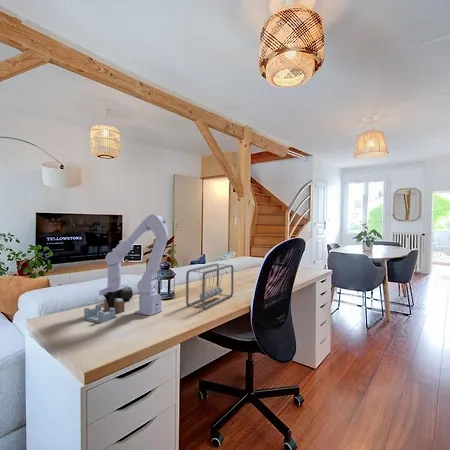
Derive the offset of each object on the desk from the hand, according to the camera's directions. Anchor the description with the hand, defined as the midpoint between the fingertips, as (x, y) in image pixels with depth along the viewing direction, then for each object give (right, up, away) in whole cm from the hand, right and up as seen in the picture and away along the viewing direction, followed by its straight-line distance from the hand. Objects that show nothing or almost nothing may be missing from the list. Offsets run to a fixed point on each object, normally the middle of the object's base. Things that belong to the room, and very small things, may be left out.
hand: (114, 307), depth 127 cm
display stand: (-2, -1, -10) cm, 11 cm away
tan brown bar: (0, -2, 0) cm, 2 cm away
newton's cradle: (+44, -2, +17) cm, 47 cm away
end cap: (-3, -2, +16) cm, 16 cm away
